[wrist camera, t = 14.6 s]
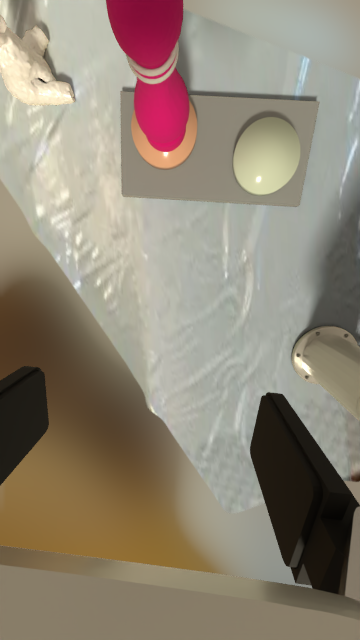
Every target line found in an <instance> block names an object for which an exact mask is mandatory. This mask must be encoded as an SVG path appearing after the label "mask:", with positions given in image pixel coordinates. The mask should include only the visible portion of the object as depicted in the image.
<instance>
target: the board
mask: <svg viewBox="0 0 360 640" xmlns="http://www.w3.org/2000/svg"><path fill="white" fill-rule="evenodd" d="M188 97H189V100H190V102H191V104H192V105H193V108H194V110H195V113H196V118H197V137H196V142H195V146H194V149H193V151H192V153H191V155H190V156H189V158H188V159H187V160H186V161H185V162H184V163H183V164H181V165H180V166H178V167H176V168H173V169H169V170H162V169H157V168H155V167H152V166H151V165H149V164H148V163H147V162H146V161H145V160H144V159H143V158H142V157H141V155H140V154H139V152H138V150H137V148H136V146H135V143H134V140H133V137H132V131H131V120H132V115H133V111H134V92H123V91H121V172H122V195H123V196H124V197H139V198H155V199H172V200H189V201H206V202H223V203H240V204H256V205H273V206H290V207H297V206H299V205H300V200H301V195H302V190H303V185H304V179H305V174H306V169H307V164H308V159H309V153H310V148H311V143H312V138H313V133H314V128H315V122H316V117H317V112H318V107H319V102H317V101H298V100H278V99H259V98H240V97H220V96H201V95H188ZM266 117H276V118H280V119H283V120H285V121H286V122H288V123H289V124H290V125H291V126H292V127H293V128H294V130H295V131H296V133H297V135H298V138H299V142H300V160H299V164H298V166H297V169H296V171H295V173H294V175H293V176H292V178H291V179H290V180H289V181H288V182H287V183H286V184H285V185H284V186H283V187H281V188H280V189H279V190H277V191H276V192H274V193H272V194H269V195H265V196H255V195H251V194H249V193H247V192H246V191H244V190H243V189H242V188H241V187H240V186H239V185H238V183H237V182H236V179H235V177H234V174H233V169H232V159H233V154H234V150H235V148H236V145H237V143H238V140H239V138H240V137H241V135H242V134H243V132H244V131H245V130H246V129H247V128H248V127H249V126H250V125H251V124H252V123H254V122H255V121H257V120H259V119H262V118H266Z"/></svg>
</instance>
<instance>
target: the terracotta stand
mask: <svg viewBox="0 0 360 640" xmlns="http://www.w3.org/2000/svg"><path fill="white" fill-rule="evenodd" d="M189 106H190V111H189V118H188V122H187V124H186V133H185V136H184V139H183V141H182V143H181V144H180V145H179V146H178V147H177V148H176V149H174V150H173V151H170V152H161V151H158V150H156V149H155V148H153V147H152V146H151V145H150V143H149V142H148V140H147V138H146V135H145V134H144V133H143V131H142V130H141V128H140V127H139V124H138V122H137V119H136V115H135V110H134V111H133V115H132V120H131V131H132V137H133V140H134V143H135V146H136V148H137V150H138V152H139V154H140V155H141V157H142V158H143V159H144V160H145V161H146V162H147V163H148V164H149V165H151V166H152V167H155V168H157V169H162V170H169V169H173V168H176V167H178V166H180V165H181V164H183V163H184V162H185V161H186V160H187V159H188V158H189V156H190V155H191V153H192V151H193V149H194V146H195V142H196V137H197V118H196V113H195V110H194V108H193V105H192V104H191V102H190V100H189Z"/></svg>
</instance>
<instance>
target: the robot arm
mask: <svg viewBox="0 0 360 640" xmlns="http://www.w3.org/2000/svg"><path fill="white" fill-rule="evenodd" d="M292 365H293V367H294V370H295V371H296V372H297V374H298V375H299V376H300V377H301V378H303V379H304V380H305V381H308V382H310V383H314V384H320V385H321V386H322V387H323V388H324V389H325V390H326V391H327V392H328V393H330V394H331V395H332V396H333V397H334V398H335V399H336V400H337V401H338V402H339V403H340V404H341V405H342V406H343V407H345V408H346V409H347V410H348V411H349V412H350V413H351V414H352V415H353V416H354V417H355V418H356V419H357V420H358V421H360V346H358V345H357V342H356V340H355V338H354V337H353V336H352V335H351V334H350V333H349V332H347V331H346V330H344V329H342V328H339V327H335V326H321V327H318V328H315V329H313V330H310V331H309V332H307V333H306V334H304V335H303V336H302V337H301V338H300V339H299V340H298V342H297V343H296V345H295V347H294V349H293V353H292ZM48 425H49V421H48V409H47V399H46V387H45V376H44V373H43V372H42V371H41V369H40V368H38V367H29V366H24V367H21V368H20V369H18V370H17V371H15V372H13V373H12V374H10V375H8V376H7V377H6V378H4V379H2V380H1V381H0V485H1V484H2V483H3V482H4V481H5V479H6V478H7V477H8V476H9V475H10V474H11V472H12V471H13V470H14V469H15V468H16V466H17V465H18V464H19V463H20V462H21V461H22V459H23V458H24V457H25V456H26V455H27V454H28V452H29V451H30V450H31V449H32V448H33V447H34V445H35V444H36V443H37V442H38V441H39V440H40V438H41V437H42V436H43V435H44V434H45V432H46V430H47V429H48ZM250 454H251V458H252V462H253V465H254V468H255V471H256V474H257V478H258V481H259V484H260V487H261V490H262V494H263V497H264V500H265V503H266V506H267V510H268V513H269V516H270V519H271V523H272V526H273V529H274V532H275V535H276V539H277V542H278V545H279V548H280V552H281V555H282V558H283V561H284V563H285V564H286V566H288V567H291V570H292V573H293V576H294V580H295V583H298V584H306V585H312V588H313V589H311V588H306V587H301V586H294V585H287V584H282V583H275V582H269V581H262V580H256V579H249V578H243V577H237V576H229V575H222V574H215V573H207V572H200V571H193V570H185V569H178V568H170V567H163V566H155V565H148V564H140V563H133V562H124V561H118V560H109V559H102V558H94V557H87V556H79V555H71V554H63V553H55V552H47V551H39V550H31V549H23V548H16V547H7V546H0V640H360V505H359V503H358V502H357V501H356V499H355V498H354V496H353V494H352V493H351V491H350V490H349V489H348V487H347V486H346V484H345V483H344V481H343V480H342V478H341V477H340V476H339V474H338V473H337V471H336V470H335V468H334V467H333V466H332V464H331V463H330V461H329V460H328V458H327V457H326V456H325V454H324V453H323V451H322V450H321V448H320V447H319V446H318V444H317V443H316V441H315V440H314V438H313V437H312V435H311V434H310V433H309V431H308V430H307V428H306V427H305V425H304V424H303V423H302V421H301V420H300V418H299V417H298V415H297V414H296V413H295V411H294V410H293V408H292V407H291V405H290V404H289V403H288V401H287V400H286V398H285V397H284V395H283V394H278V393H269V392H268V393H267V394H266V396H262V397H261V401H260V406H259V410H258V415H257V419H256V424H255V428H254V432H253V437H252V441H251V446H250Z"/></svg>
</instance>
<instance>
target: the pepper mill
mask: <svg viewBox="0 0 360 640" xmlns="http://www.w3.org/2000/svg"><path fill="white" fill-rule="evenodd" d="M106 4H107V11H108V16H109V20H110V24H111V28H112V30H113V33H114V35H115V38H116V40H117V42H118V43H119V45H120V47H121V48H122V50H123V51H124V52H125V53H126V56H127V60H128V63H129V66H130V68H131V70H132V71H133V73H134V74H135V75H136V76H137V83H136V87H135V92H134V110H135V115H136V119H137V122H138V124H139V127H140V128H141V130H142V131H143V133H144V134H145V135H146V138H147V140H148V142H149V143H150V145H151V146H152V147H153V148H155V149H156V150H158V151H161V152H170V151H173V150H174V149H176V148H177V147H178V146H179V145H180V144H181V143H182V141H183V139H184V136H185V133H186V124H187V122H188V118H189V111H190V106H189V97H188V92H187V88H186V86H185V83H184V81H183V79H182V77H181V76H180V74H179V73H178V71H177V70H176V67H175V66H176V64H177V60H178V54H179V44H178V39H179V36H180V32H181V26H182V21H183V0H106Z"/></svg>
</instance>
